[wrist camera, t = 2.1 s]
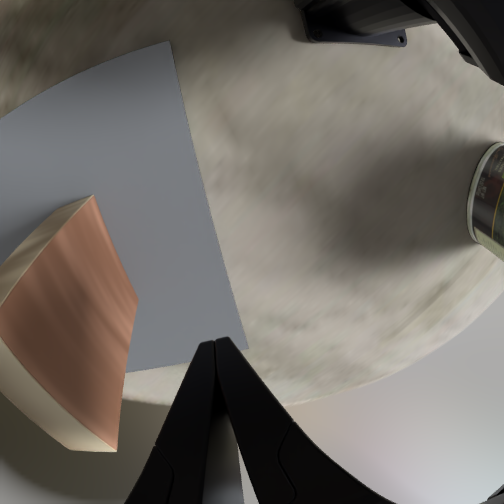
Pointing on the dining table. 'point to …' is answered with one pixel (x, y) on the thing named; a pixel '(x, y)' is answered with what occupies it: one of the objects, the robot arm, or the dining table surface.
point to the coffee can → (488, 201)
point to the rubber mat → (126, 195)
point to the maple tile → (67, 328)
